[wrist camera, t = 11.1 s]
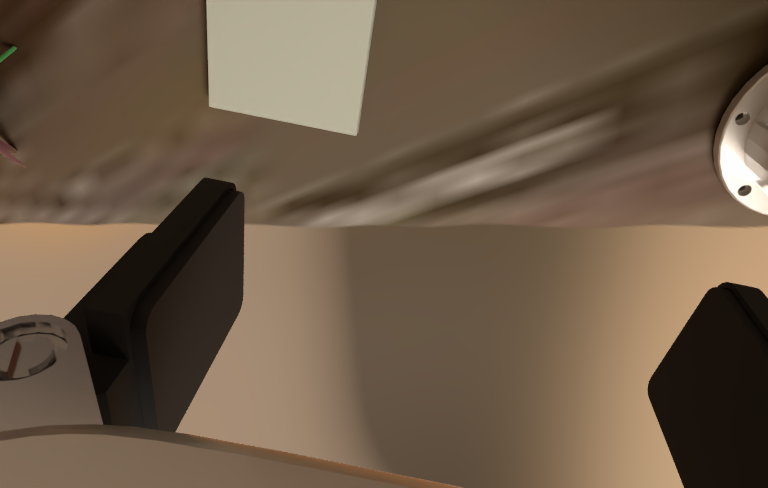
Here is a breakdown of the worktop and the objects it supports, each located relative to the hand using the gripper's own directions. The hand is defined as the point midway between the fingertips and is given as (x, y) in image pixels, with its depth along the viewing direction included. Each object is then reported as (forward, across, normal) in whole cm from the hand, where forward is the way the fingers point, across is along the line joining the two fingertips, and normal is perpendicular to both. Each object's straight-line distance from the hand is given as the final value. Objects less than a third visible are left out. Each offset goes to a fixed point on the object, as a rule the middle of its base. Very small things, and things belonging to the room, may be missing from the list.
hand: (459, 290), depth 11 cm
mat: (+28, +11, +3) cm, 31 cm away
